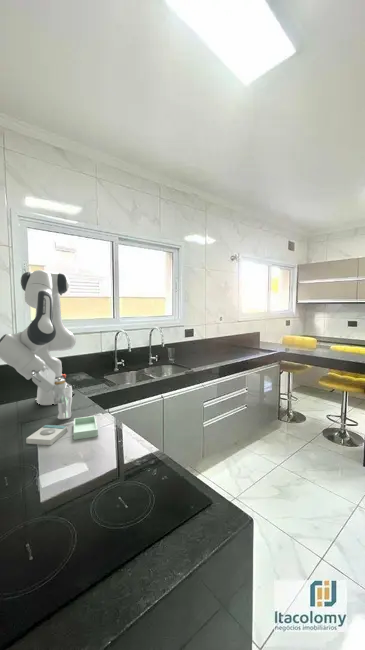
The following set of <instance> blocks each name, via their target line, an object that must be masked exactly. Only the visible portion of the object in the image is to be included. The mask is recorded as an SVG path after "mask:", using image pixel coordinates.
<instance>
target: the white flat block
mask: <svg viewBox="0 0 365 650" xmlns="http://www.w3.org/2000/svg"><path fill="white" fill-rule="evenodd" d="M67 432H68V426H66V425H55V424H54V425H53V424H44V425H43V426H42V427H41V428H39V429H38V430H36V431H35V432H33V433H32V434H31V435H29V436H28V437H26V438H25V439H26V440H25V441H26V442H25V443H26V444H29V445H45V446H46V445H47V446H52V445H53V444H54V443H56V442H57V441H58V440H59V439H60V438H61V437H62V436H64V435H65V434H66V433H67Z"/></svg>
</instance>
